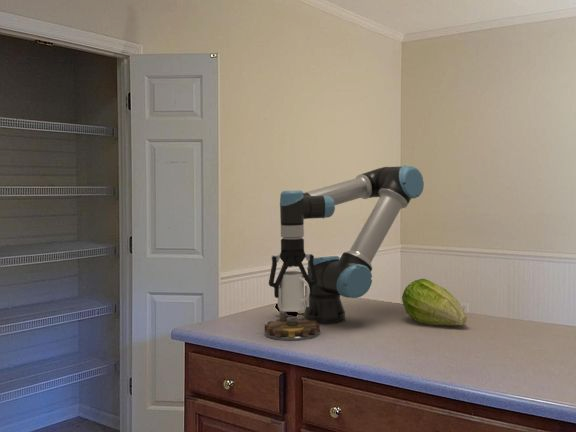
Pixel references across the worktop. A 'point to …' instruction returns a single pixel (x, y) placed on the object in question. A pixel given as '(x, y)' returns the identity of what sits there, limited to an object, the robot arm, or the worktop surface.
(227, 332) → the worktop surface
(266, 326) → the sprocket
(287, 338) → the base plate
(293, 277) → the mug
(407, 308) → the lettuce
